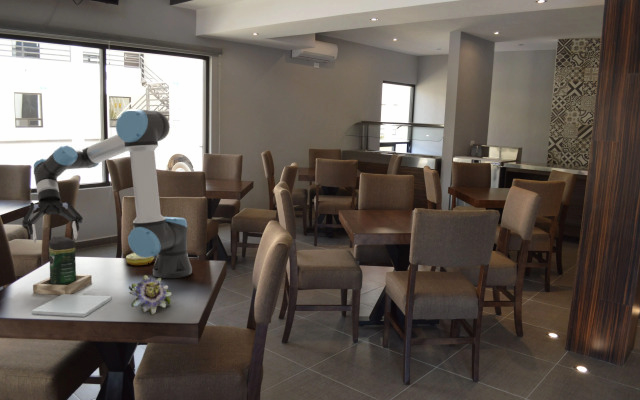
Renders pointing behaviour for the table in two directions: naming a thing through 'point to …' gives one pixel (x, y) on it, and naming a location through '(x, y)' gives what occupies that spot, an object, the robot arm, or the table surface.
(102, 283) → the table surface
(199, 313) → the table surface
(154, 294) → the passion flower
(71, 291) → the holder collar
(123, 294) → the table surface
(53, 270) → the coffee jar
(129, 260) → the decorated donut
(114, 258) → the table surface
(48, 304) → the ceramic tile
